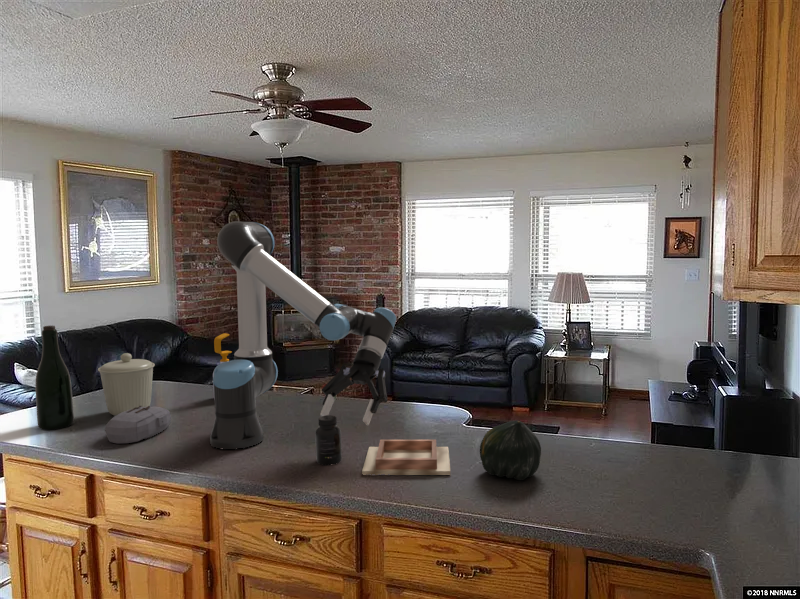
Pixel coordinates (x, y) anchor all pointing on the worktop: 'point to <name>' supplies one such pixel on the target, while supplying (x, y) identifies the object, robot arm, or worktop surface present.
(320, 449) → the supplement bottle
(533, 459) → the squash
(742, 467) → the worktop surface
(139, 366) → the canister
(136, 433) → the soft grey pack
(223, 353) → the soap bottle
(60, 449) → the worktop surface
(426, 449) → the pocket board
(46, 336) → the wine bottle
